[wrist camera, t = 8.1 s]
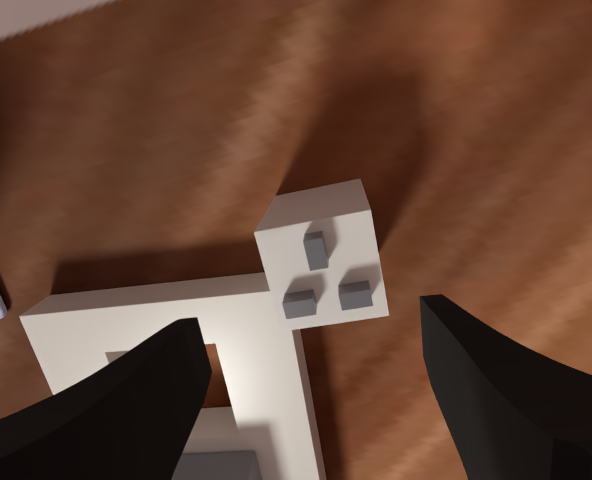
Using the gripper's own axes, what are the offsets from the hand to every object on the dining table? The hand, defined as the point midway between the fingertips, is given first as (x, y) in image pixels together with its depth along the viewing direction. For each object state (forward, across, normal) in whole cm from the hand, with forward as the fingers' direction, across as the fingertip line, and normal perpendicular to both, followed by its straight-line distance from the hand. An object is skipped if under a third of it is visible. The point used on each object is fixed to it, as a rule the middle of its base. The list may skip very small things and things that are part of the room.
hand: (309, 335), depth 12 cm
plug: (+10, 0, 0) cm, 10 cm away
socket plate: (+10, +10, +12) cm, 18 cm away
